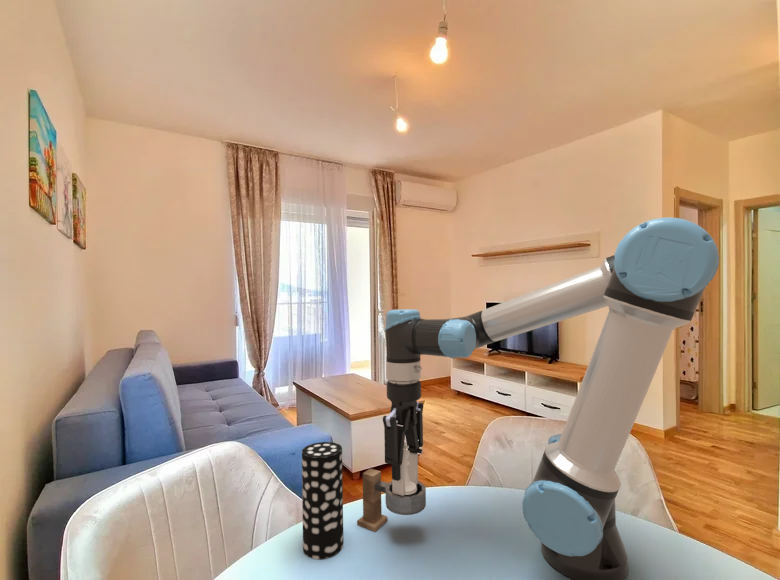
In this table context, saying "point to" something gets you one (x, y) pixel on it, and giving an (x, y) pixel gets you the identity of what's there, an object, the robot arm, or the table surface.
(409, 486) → the chess piece
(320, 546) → the white-spotted black cylinder
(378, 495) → the walnut post
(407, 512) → the cup bracket
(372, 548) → the table surface
